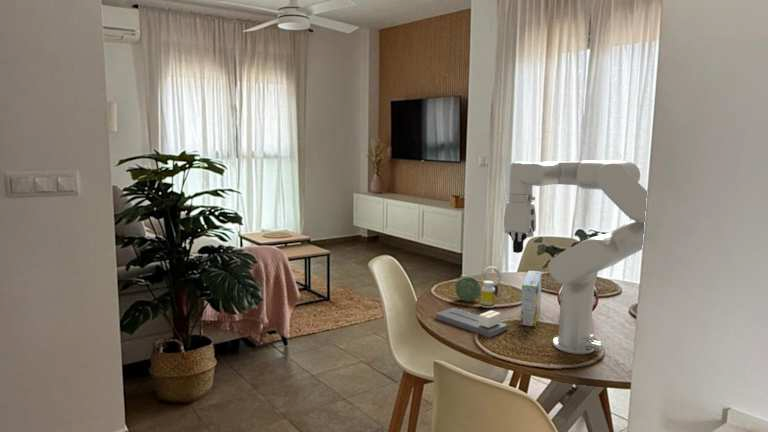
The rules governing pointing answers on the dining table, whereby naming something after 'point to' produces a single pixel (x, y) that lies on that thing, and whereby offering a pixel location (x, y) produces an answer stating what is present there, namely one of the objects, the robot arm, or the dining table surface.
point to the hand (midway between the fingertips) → (517, 251)
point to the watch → (497, 275)
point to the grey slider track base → (469, 322)
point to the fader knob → (489, 318)
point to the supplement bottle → (487, 294)
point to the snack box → (531, 298)
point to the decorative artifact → (467, 288)
